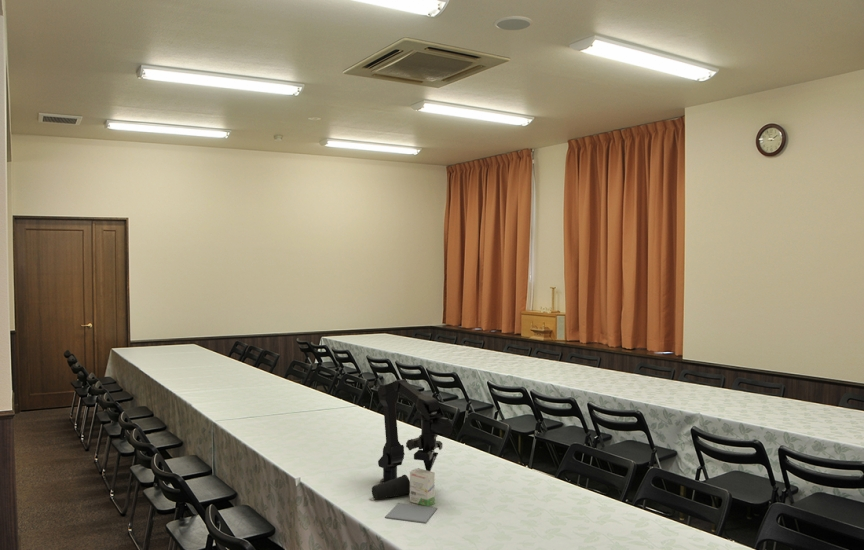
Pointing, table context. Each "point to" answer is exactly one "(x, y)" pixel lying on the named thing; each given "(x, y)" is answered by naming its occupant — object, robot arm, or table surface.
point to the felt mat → (411, 513)
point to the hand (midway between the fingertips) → (428, 472)
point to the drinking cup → (392, 488)
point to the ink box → (422, 487)
